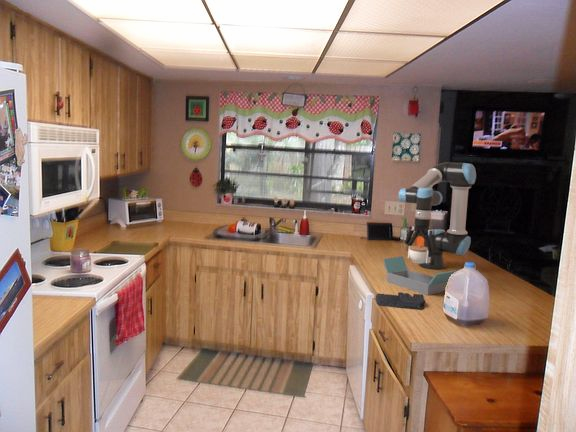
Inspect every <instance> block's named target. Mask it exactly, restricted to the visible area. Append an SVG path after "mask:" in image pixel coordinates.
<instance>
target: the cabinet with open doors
mask: <svg viewBox="0 0 576 432" xmlns="http://www.w3.org/2000/svg"><path fill="white" fill-rule="evenodd" d="M382 261H383V265H384V267H385V270H386V273H387V274H386V275H387V276H386V282H387V283H389V284H392V285H395V286H399V287H401V288H405V289H408V290H411V291H414V292H417V293H418V294H419V293H420V294H422V295H425V296H430V295H434V294H439V293H443V291H444V290H445V287H446V285H447V282H448V279H449V277H450V276H451V274H453V273H454V272H455V273H456V272H457V270H456V269H454V270H449V271H444V272H443V271H442V272H437V273H436V274H434V276H432V275H427V274H425V273H420V272H418V271H414V270H410V269H408V268H407V265H406V261H405V258H404V256H402V255H401V256H395V257H389V258H387V257H386V258H383V259H382ZM455 273H454V274H455ZM448 283H449V282H448ZM444 292H445V291H444Z"/></svg>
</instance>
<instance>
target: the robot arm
mask: <svg viewBox="0 0 576 432" xmlns="http://www.w3.org/2000/svg"><path fill="white" fill-rule="evenodd" d="M476 179H477V172H476V167H475V166H474V165H473V163H466V162H450V161H446V162H442V163H441V162H440V163H438V164H436V165H434V166H432V167H431V168H429V169H428V170H427V171H426V174H425V175H423V176H422V177H421V178H419V179H418V180H417V181H416V182H415V183H414V184H413V183H412V184H411V186H410V187H409V188H406V187H404V188H401V189H400V190H399V191H398V195H397V196H398V200H399V202H402V203H405V204H407V203H408V204H415V205H416V206H415V215H414V216H415V218H414V226H413V225H412V226H411V225H410V226H408V227H409V229H408V233H407V235H406V237H405V240H404V244H405V245H407V249H406V250H407V259H410V256H409V246H413V245H414V242H415V241H416V240H417V238H418V237H422V239H423V246H425V247H427V248H428V250H427V254H426V262H425V263H424V264H419V263H418V265H419V267H421V268H426V269H429V270H443V269H445V261H444V256H443V253H447V254H454V255H459V256H460V255H461V256H464V255H465V254H466V253H468V251H469V248H470V246H471V242H472V241H471V236H470V235H468V231H467V230H466V225H467V224H466V223H467V222H466V221H467V211H468V210H467V209H468V200H469V199H468V198H469V189H471V188H472V185H474V184H475V182H476ZM444 182H445V183H450V184H449V185H450V188H451V189H452V193H451V206H450V219H449V221H450V225H449V229H447V231H446V230H445V229H437V228H436V229H430V227H431V216H432V206H438V205H441V203H442V202H443V194H442V193H441V192H440V191H437V190H434V189H433V188H432V187H434V185H436V184H440V183H444Z"/></svg>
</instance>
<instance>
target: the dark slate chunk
mask: <svg viewBox="0 0 576 432" xmlns="http://www.w3.org/2000/svg"><path fill="white" fill-rule="evenodd" d="M375 302H376V305H377V306H379V307H388V308H397V309H406V310H407V309H408V310H415V311H423V310H425V305H426V299H425V296H424V294H422V293H420V294H419V293H418V294H417V293H413V295H412V294H410V293H408V292H405V293H404V292H398V293H397V294H387V293H386V294H384V293H376V294H375Z"/></svg>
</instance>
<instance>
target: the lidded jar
mask: <svg viewBox="0 0 576 432" xmlns="http://www.w3.org/2000/svg"><path fill="white" fill-rule="evenodd" d="M427 250H428V248H427V247H425V246H424V245H422V244H420V243H419V244H418V245H414V244H413V245H411V246H409V256H410V258H409V259H410V260H411V261H412V263H414V264H418V265H419V264H424V263H425V262H426V254H427Z"/></svg>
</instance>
